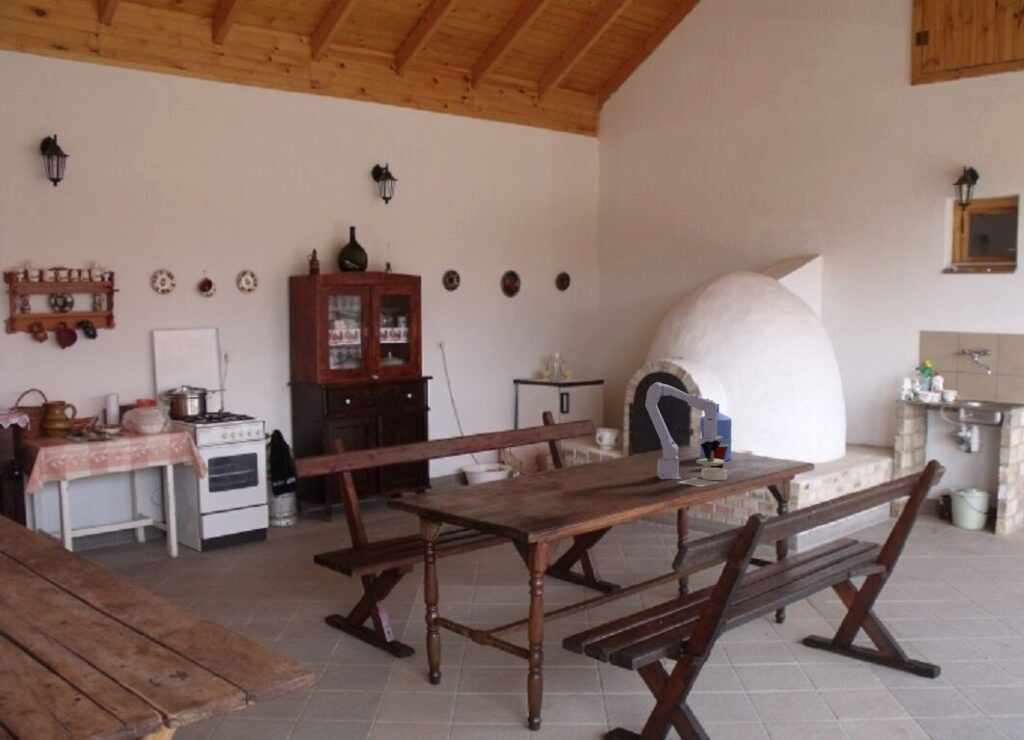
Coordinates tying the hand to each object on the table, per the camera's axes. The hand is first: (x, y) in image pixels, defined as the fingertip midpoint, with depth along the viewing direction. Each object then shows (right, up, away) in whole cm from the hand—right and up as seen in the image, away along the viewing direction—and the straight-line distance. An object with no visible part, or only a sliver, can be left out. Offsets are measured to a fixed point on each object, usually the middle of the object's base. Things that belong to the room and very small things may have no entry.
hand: (710, 457), depth 416 cm
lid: (0, -3, 0) cm, 3 cm away
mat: (-7, -11, -6) cm, 14 cm away
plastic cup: (+10, -8, +30) cm, 32 cm away
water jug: (+14, -6, +53) cm, 55 cm away
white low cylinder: (+2, -10, +3) cm, 11 cm away
